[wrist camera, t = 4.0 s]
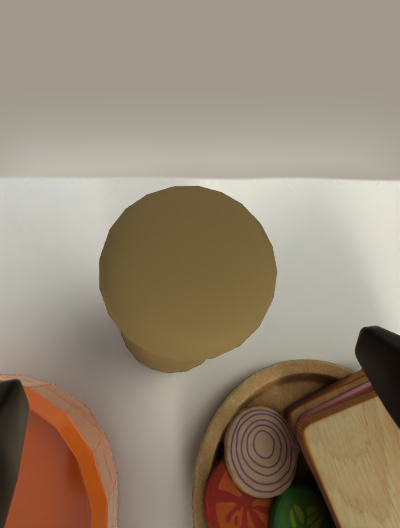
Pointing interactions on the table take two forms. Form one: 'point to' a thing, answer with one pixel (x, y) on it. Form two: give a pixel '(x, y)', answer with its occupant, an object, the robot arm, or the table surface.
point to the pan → (62, 464)
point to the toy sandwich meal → (299, 453)
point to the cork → (186, 276)
